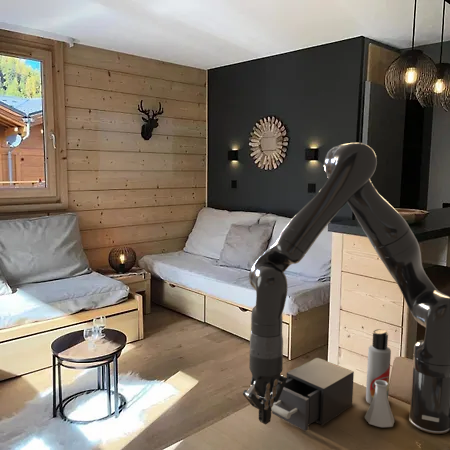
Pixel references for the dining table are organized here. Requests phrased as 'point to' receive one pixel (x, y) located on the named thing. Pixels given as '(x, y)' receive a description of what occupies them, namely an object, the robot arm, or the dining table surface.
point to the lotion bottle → (378, 363)
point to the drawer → (298, 404)
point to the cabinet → (327, 386)
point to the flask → (380, 407)
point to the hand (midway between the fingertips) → (264, 421)
